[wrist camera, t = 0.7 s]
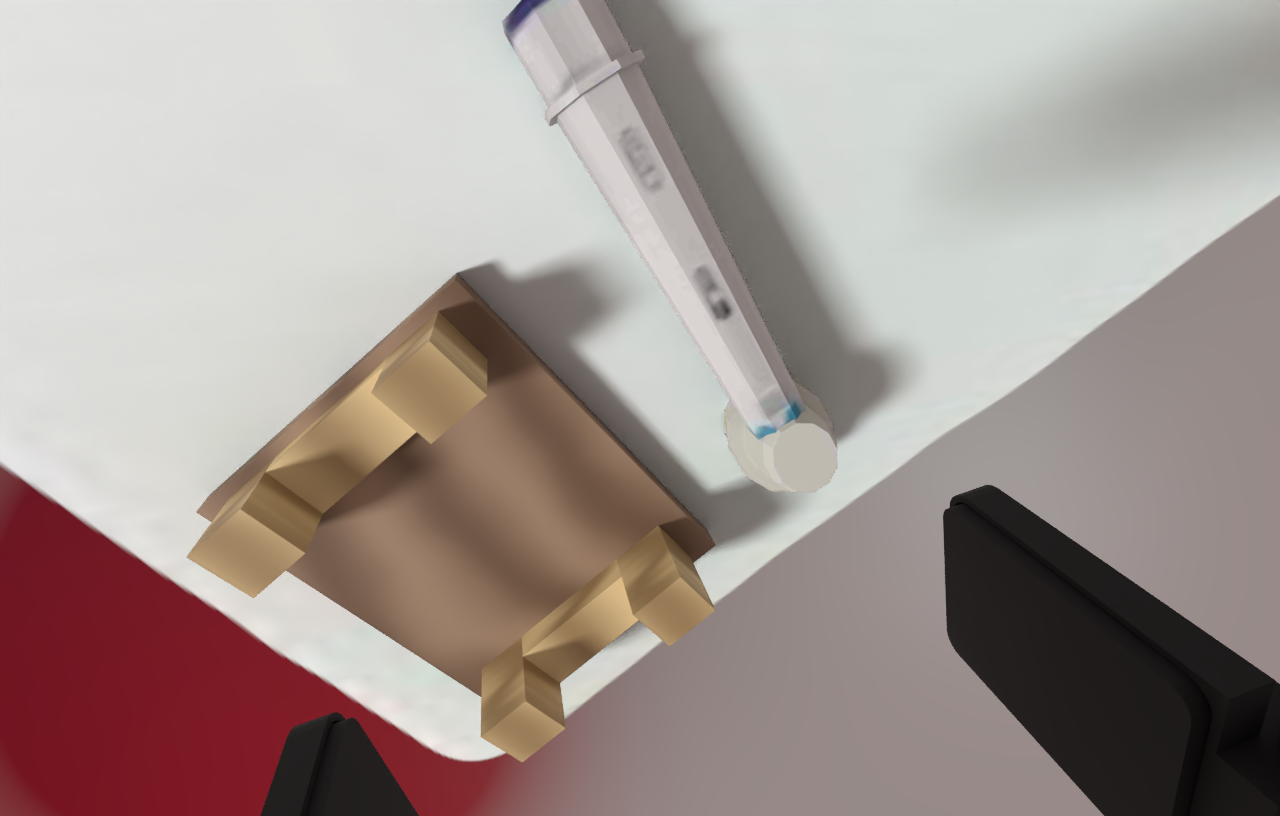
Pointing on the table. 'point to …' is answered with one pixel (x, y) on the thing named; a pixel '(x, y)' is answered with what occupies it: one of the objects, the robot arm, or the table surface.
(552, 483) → the rack
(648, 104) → the electric toothbrush handle
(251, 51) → the table surface
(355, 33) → the table surface
